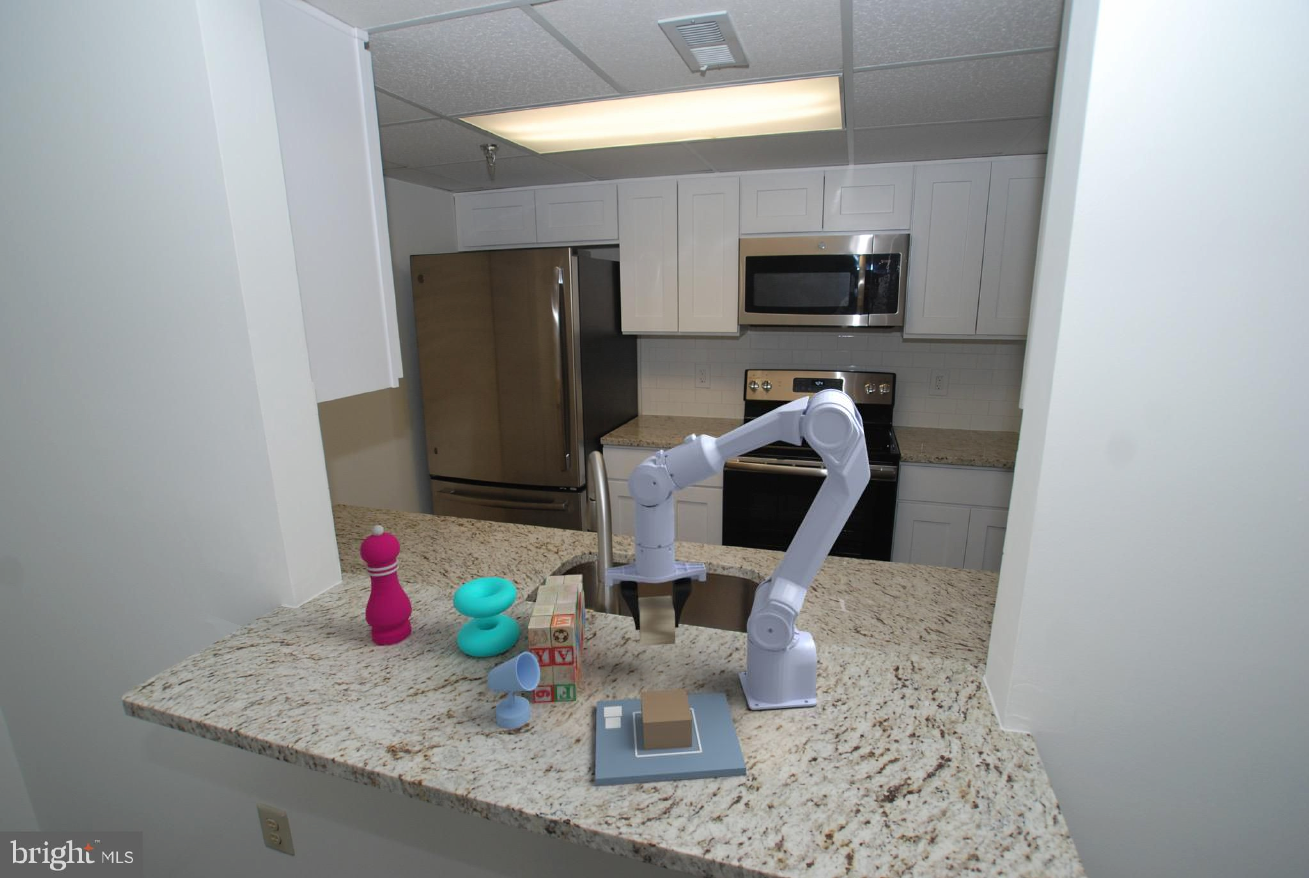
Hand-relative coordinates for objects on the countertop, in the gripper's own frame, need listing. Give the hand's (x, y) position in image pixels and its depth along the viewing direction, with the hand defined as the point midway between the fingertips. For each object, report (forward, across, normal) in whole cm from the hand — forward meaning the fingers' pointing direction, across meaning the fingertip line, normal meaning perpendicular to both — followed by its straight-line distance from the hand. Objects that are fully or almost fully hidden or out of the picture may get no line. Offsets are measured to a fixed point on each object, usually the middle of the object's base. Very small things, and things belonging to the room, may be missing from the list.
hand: (656, 625), depth 92 cm
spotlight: (+8, +20, +8) cm, 23 cm away
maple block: (+2, 0, 0) cm, 2 cm away
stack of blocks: (+8, +15, -5) cm, 18 cm away
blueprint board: (+8, 0, +14) cm, 16 cm away
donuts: (+8, +27, -11) cm, 30 cm away
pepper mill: (+8, +44, -15) cm, 47 cm away
